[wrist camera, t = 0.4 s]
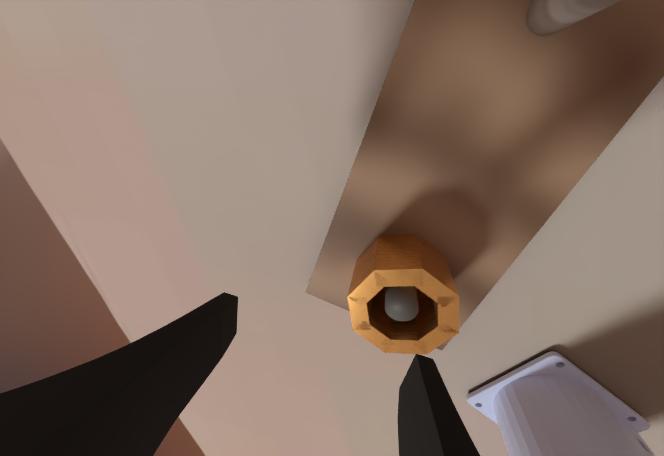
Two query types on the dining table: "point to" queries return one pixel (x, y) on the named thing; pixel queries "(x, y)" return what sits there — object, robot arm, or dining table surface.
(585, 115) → the rod board
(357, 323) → the ring
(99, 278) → the dining table surface
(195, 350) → the robot arm
